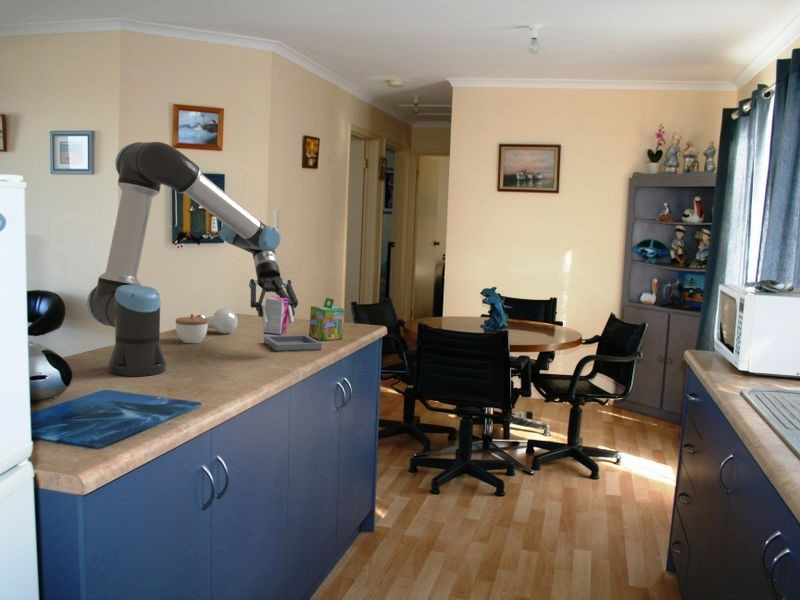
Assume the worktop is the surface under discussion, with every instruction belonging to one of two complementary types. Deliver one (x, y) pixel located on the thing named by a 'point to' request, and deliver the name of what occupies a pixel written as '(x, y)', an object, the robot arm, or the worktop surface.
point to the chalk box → (326, 321)
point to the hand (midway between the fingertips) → (278, 324)
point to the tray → (292, 343)
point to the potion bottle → (222, 320)
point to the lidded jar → (191, 328)
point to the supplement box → (276, 315)
